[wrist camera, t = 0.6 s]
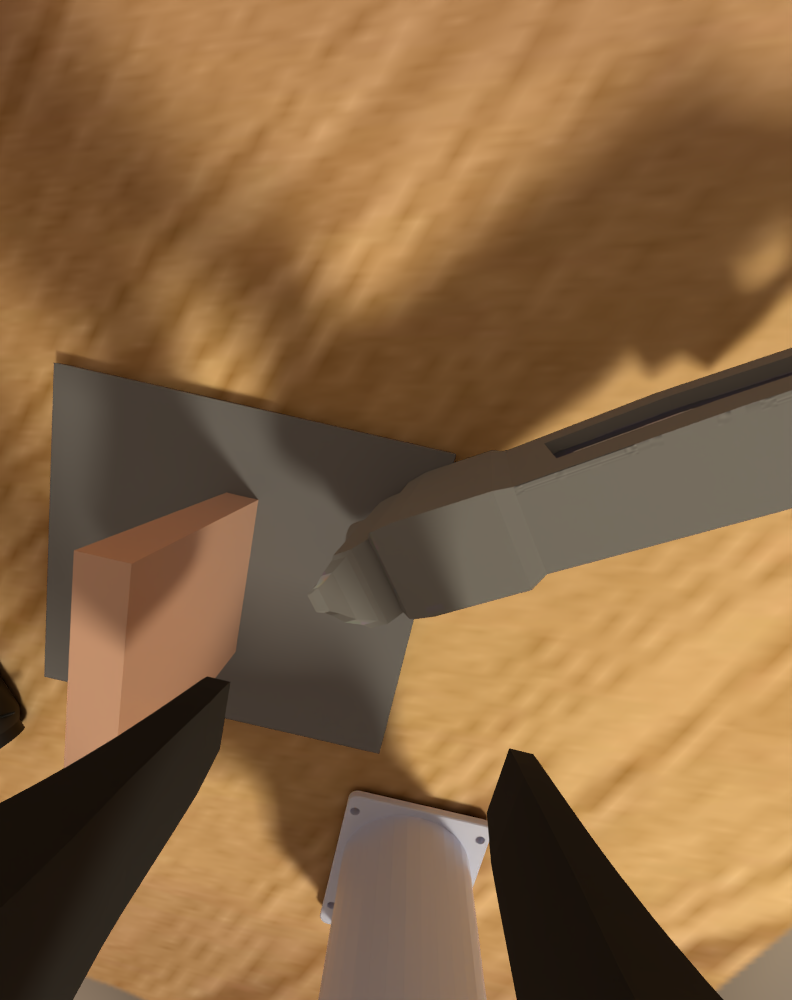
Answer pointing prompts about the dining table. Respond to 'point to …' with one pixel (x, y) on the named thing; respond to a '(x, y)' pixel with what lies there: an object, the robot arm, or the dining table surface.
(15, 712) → the door handle
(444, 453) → the mat
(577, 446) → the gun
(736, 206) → the dining table surface
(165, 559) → the tile
